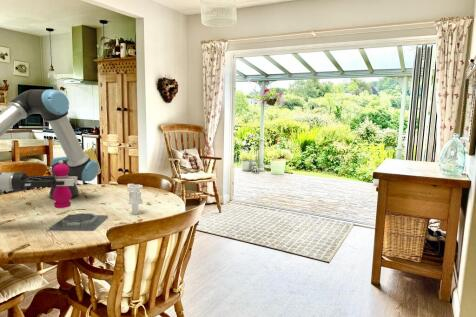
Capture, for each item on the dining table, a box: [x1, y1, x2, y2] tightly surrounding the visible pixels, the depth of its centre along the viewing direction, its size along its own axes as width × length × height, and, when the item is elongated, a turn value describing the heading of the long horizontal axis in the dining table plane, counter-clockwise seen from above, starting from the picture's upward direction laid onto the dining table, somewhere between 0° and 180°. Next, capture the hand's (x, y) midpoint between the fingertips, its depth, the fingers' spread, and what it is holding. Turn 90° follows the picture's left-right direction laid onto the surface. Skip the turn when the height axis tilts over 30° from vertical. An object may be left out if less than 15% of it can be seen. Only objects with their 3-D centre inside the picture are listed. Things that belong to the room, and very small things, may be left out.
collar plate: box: [48, 212, 109, 232], centre depth 145 cm, size 18×18×2 cm
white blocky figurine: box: [127, 183, 143, 215], centre depth 161 cm, size 7×7×15 cm
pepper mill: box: [52, 160, 72, 209], centre depth 139 cm, size 7×7×20 cm
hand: (75, 181), depth 140 cm, fingers closed on pepper mill, 5 cm apart
